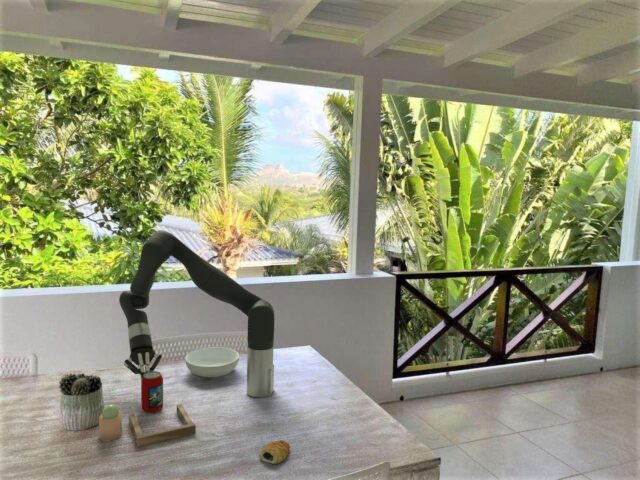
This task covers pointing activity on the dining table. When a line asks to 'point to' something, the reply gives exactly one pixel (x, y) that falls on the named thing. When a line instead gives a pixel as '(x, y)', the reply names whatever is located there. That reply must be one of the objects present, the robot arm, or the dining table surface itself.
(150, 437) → the corral
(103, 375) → the dining table surface
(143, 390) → the beverage can
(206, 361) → the serving bowl
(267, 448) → the pastry
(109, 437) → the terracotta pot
